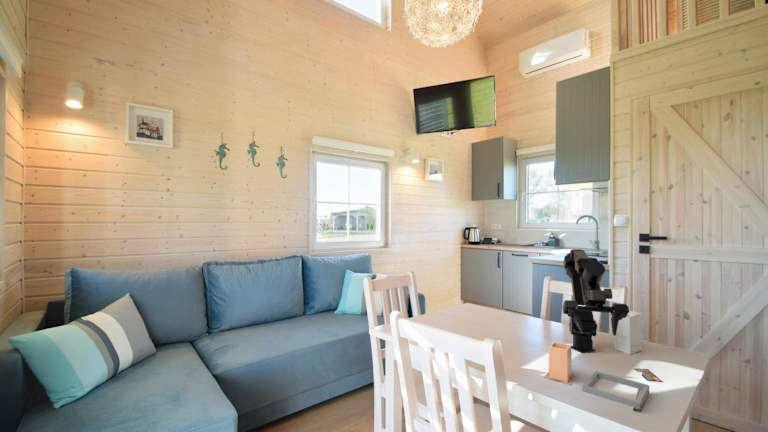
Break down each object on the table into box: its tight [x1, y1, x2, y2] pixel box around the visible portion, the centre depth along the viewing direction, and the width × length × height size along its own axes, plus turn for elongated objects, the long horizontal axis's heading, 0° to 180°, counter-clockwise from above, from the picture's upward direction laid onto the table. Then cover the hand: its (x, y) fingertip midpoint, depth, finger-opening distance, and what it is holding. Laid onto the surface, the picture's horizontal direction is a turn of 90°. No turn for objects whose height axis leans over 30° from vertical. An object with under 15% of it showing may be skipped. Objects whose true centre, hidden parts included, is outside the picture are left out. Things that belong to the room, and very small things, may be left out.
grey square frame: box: [581, 370, 650, 413], centre depth 105 cm, size 14×14×2 cm
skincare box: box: [614, 309, 643, 355], centre depth 138 cm, size 8×6×15 cm
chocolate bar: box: [633, 367, 664, 383], centre depth 117 cm, size 11×5×1 cm, turn 167°
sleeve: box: [548, 341, 573, 382], centre depth 114 cm, size 5×5×10 cm
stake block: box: [543, 371, 578, 386], centre depth 114 cm, size 8×8×5 cm
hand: (598, 333), depth 114 cm, fingers open, 9 cm apart
